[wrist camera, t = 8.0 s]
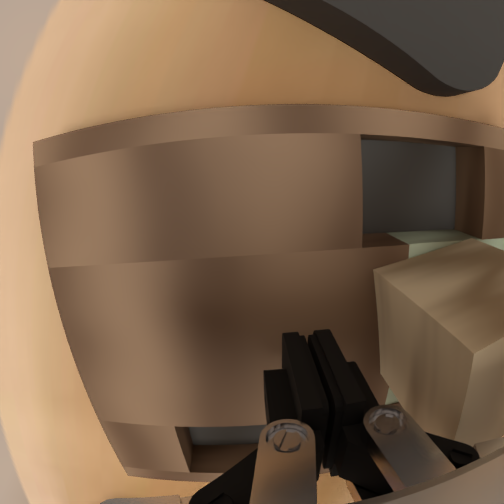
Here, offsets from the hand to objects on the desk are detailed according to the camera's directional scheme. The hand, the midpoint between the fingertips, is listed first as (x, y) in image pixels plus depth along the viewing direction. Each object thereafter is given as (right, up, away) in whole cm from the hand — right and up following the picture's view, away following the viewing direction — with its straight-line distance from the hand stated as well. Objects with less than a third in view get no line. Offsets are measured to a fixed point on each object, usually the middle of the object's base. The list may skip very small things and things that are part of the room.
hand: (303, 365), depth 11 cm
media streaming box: (+5, +20, -1) cm, 20 cm away
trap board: (+1, +1, +3) cm, 4 cm away
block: (+6, +2, +1) cm, 6 cm away
